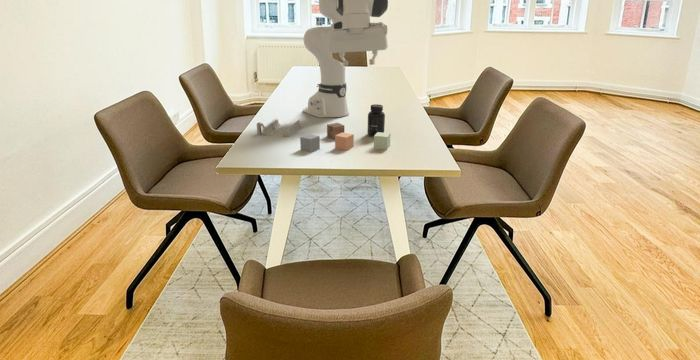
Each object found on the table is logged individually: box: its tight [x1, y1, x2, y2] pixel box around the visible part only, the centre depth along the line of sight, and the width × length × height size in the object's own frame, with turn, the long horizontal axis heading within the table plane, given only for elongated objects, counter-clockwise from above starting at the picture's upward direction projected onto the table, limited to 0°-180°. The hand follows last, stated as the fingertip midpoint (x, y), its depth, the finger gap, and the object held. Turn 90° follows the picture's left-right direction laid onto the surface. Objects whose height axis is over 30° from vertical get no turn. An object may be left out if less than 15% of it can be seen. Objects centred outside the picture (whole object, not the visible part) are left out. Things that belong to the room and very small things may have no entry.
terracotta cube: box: [334, 132, 355, 151], centre depth 197 cm, size 5×5×5 cm
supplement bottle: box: [366, 103, 386, 138], centre depth 212 cm, size 7×7×12 cm
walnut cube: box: [326, 122, 345, 140], centre depth 210 cm, size 5×5×5 cm
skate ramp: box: [256, 118, 301, 138], centre depth 219 cm, size 15×13×5 cm
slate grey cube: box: [299, 133, 321, 153], centre depth 195 cm, size 5×5×5 cm
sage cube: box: [373, 132, 391, 151], centre depth 198 cm, size 5×5×5 cm
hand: (358, 65), depth 184 cm, fingers open, 8 cm apart
